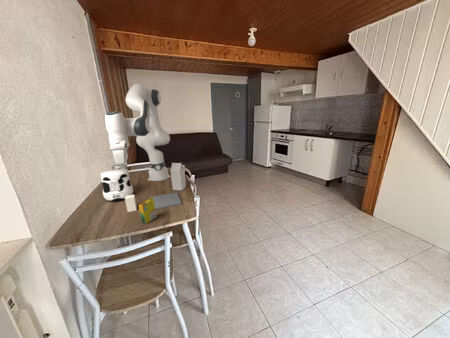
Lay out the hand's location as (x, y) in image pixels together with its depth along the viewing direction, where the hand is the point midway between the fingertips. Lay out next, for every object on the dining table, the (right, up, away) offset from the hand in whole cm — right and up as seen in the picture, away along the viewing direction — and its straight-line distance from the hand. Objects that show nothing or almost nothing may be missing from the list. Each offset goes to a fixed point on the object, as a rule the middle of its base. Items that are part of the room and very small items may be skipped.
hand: (124, 169), depth 101 cm
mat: (+17, -20, +15) cm, 30 cm away
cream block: (+1, -23, +6) cm, 24 cm away
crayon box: (+16, -26, -6) cm, 31 cm away
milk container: (-16, -19, +24) cm, 34 cm away
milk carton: (+21, -14, +35) cm, 43 cm away
